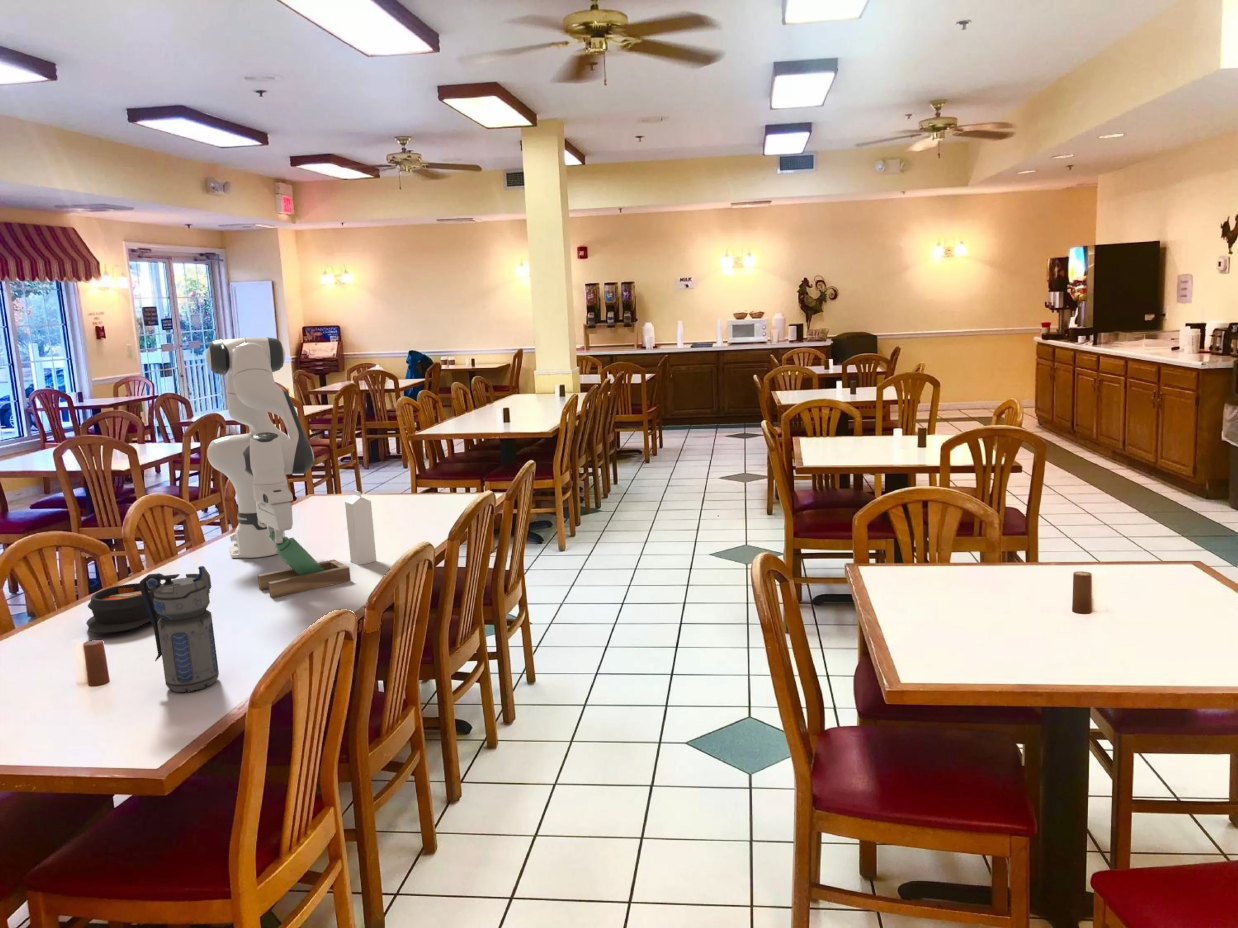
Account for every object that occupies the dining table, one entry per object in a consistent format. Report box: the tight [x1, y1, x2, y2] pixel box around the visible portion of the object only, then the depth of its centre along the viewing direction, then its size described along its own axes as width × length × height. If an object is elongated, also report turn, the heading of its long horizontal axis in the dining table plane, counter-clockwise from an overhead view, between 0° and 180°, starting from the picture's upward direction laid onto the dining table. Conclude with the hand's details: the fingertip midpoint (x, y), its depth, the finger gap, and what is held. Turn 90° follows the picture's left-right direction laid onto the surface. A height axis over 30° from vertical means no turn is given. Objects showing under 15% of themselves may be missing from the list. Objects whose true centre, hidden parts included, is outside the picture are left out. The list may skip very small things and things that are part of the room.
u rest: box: [257, 559, 352, 599], centre depth 264 cm, size 12×22×4 cm, turn 127°
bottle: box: [269, 531, 325, 576], centre depth 261 cm, size 6×6×18 cm
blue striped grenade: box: [139, 565, 220, 693], centre depth 192 cm, size 10×13×25 cm
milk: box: [344, 489, 377, 566], centre depth 285 cm, size 6×6×22 cm
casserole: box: [86, 582, 161, 634], centre depth 237 cm, size 25×19×8 cm
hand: (276, 541), depth 258 cm, fingers closed on bottle, 3 cm apart
